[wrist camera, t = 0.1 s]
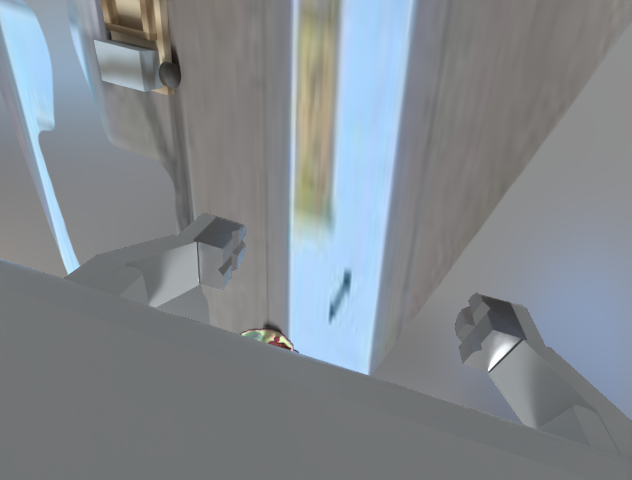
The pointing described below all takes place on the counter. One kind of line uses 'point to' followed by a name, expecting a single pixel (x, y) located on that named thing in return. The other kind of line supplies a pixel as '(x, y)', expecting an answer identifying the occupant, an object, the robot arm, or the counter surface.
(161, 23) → the chassis
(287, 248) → the counter surface
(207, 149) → the counter surface
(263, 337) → the candy plate
